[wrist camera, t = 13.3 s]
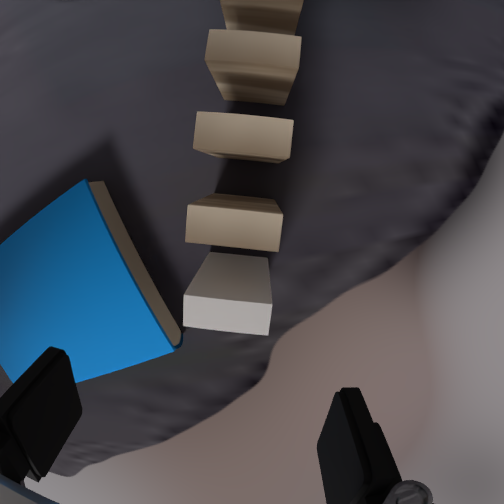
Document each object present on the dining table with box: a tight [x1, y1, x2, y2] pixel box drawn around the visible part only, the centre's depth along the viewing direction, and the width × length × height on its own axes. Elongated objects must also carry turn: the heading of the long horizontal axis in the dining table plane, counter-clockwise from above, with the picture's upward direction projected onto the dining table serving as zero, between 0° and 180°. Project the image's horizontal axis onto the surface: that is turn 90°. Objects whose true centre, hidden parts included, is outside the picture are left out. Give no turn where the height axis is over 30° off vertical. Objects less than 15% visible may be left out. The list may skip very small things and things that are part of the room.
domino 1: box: [220, 0, 304, 36], centre depth 18 cm, size 2×5×10 cm, turn 84°
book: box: [0, 179, 183, 384], centre depth 28 cm, size 17×4×25 cm
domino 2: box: [205, 29, 302, 106], centre depth 19 cm, size 2×5×10 cm, turn 84°
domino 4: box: [185, 193, 283, 252], centre depth 21 cm, size 2×5×10 cm, turn 84°
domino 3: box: [193, 112, 294, 164], centre depth 20 cm, size 2×5×10 cm, turn 84°
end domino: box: [183, 252, 272, 335], centre depth 23 cm, size 2×5×10 cm, turn 84°
